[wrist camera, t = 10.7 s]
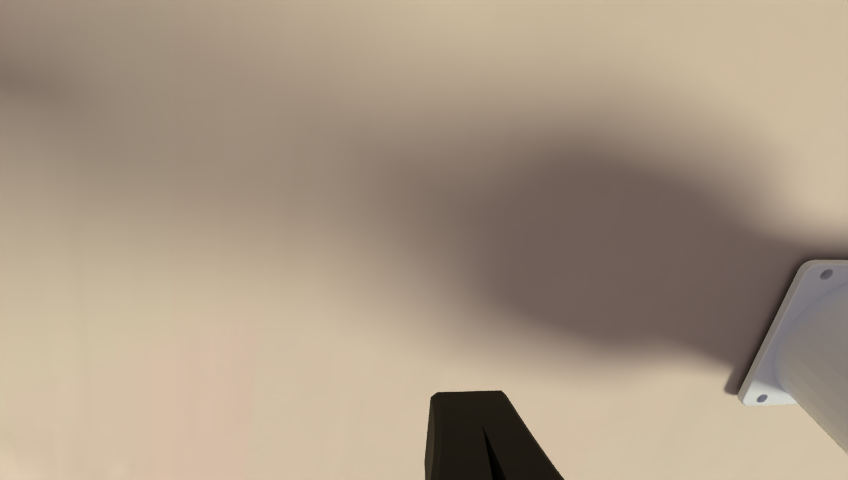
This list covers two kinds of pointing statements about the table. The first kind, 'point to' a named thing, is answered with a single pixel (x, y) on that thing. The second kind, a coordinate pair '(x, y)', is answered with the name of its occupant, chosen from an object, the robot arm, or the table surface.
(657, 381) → the table surface
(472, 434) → the robot arm
